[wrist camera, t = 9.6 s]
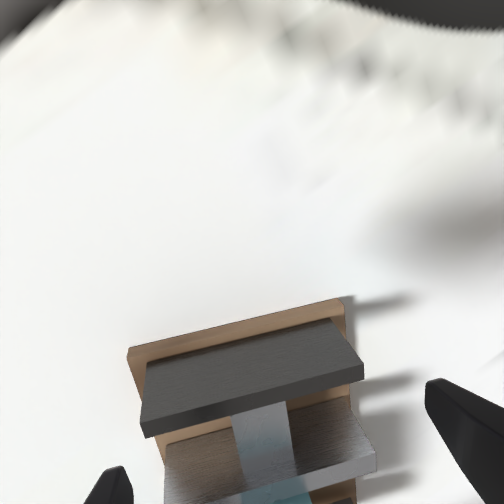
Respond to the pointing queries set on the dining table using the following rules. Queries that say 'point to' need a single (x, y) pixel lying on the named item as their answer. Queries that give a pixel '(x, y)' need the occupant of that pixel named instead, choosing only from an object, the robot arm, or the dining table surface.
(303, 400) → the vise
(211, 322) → the dining table surface
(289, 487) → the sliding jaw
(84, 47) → the dining table surface
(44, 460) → the dining table surface
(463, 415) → the robot arm
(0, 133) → the dining table surface
